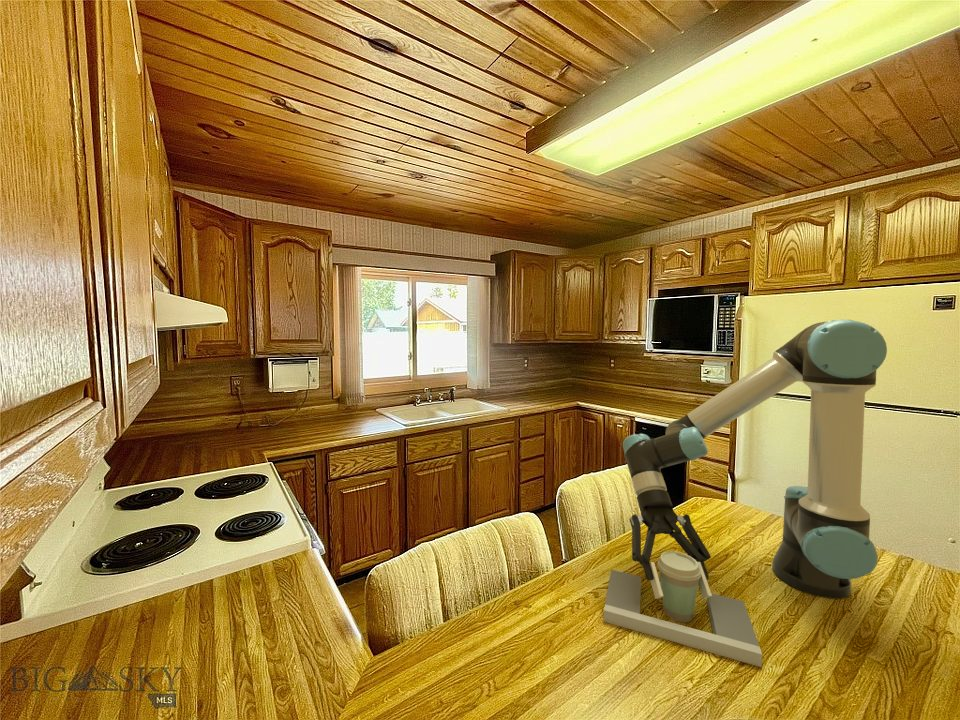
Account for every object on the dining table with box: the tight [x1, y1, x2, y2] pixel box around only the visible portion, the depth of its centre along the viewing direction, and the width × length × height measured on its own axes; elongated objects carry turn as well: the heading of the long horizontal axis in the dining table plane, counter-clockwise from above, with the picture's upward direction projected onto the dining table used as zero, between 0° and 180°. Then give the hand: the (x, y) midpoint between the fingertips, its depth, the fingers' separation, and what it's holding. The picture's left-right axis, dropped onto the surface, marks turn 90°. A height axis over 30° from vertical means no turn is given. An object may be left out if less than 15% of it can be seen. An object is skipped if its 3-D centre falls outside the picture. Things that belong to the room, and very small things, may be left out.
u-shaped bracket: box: [603, 569, 763, 668], centre depth 85 cm, size 28×16×2 cm, turn 66°
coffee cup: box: [656, 550, 701, 623], centre depth 86 cm, size 8×8×12 cm
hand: (683, 597), depth 83 cm, fingers open, 10 cm apart
